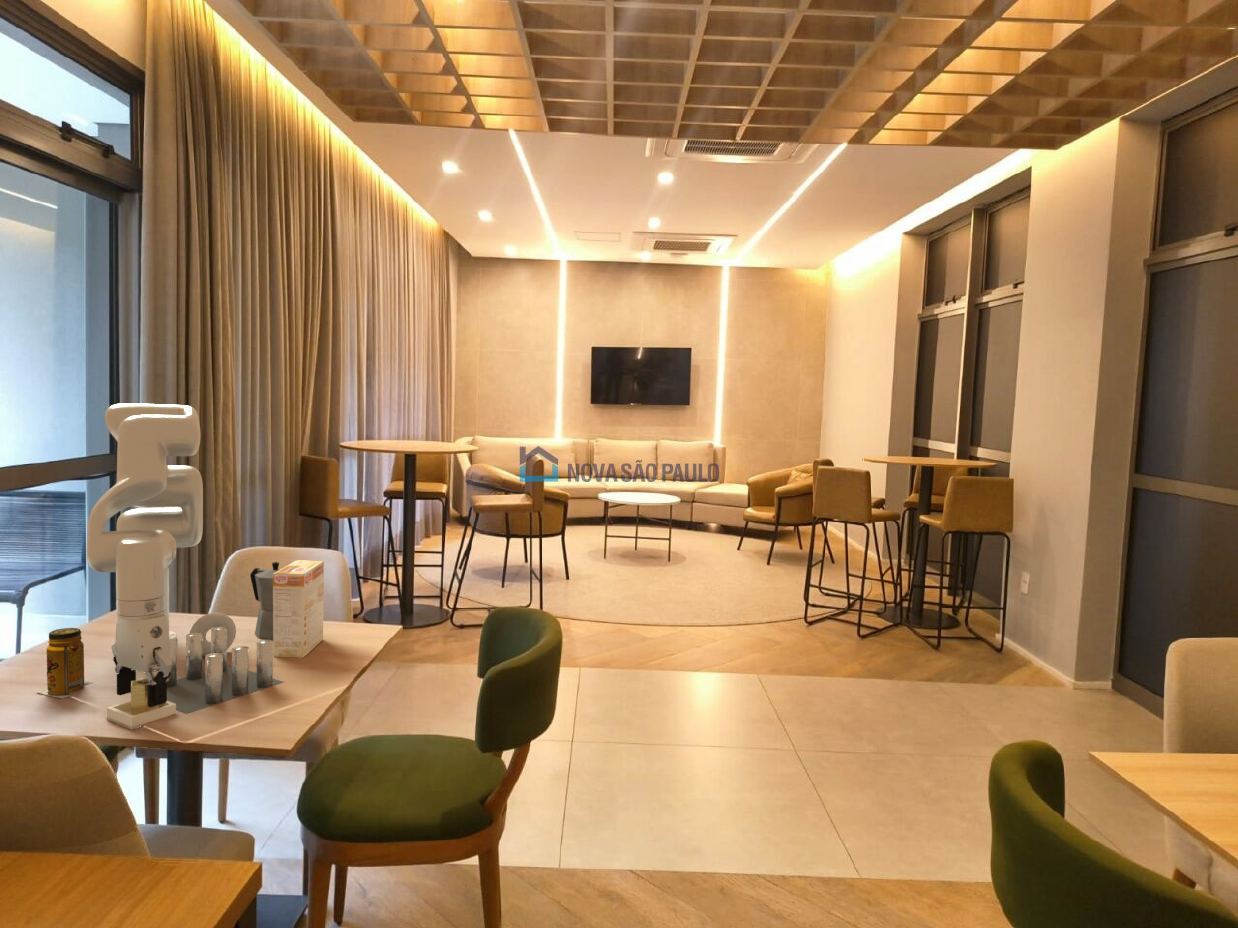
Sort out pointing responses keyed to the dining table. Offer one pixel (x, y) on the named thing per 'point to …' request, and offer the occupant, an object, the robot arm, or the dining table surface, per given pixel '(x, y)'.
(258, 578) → the coffeepot
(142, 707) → the amber perfume bottle
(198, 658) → the silver peg rack
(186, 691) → the mat
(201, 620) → the donut
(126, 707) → the dish
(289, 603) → the coffeecake box
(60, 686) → the condiment
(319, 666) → the dining table surface
